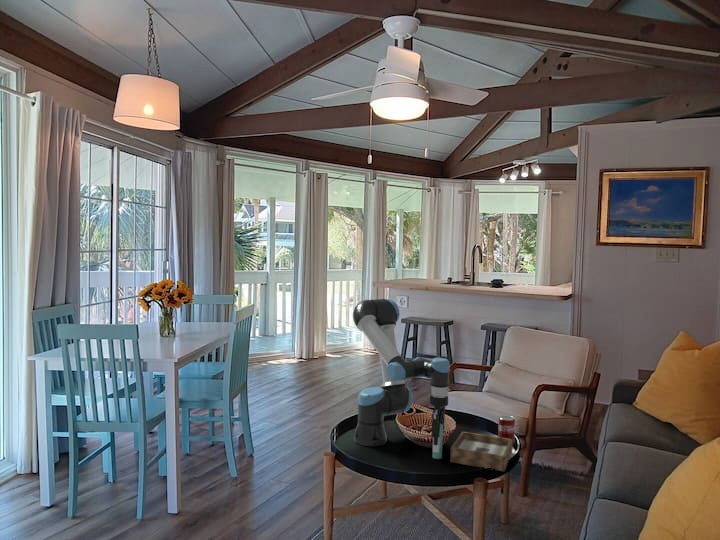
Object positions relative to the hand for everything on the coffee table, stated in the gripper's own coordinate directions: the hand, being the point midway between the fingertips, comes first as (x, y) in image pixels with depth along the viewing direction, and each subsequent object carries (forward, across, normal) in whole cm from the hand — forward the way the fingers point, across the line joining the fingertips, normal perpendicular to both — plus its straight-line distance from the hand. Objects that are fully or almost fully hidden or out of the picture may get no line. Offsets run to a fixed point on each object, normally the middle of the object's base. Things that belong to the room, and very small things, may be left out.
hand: (437, 449), depth 236 cm
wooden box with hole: (+3, +9, -17) cm, 20 cm away
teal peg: (+3, 0, 0) cm, 3 cm away
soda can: (+4, +30, -24) cm, 39 cm away
